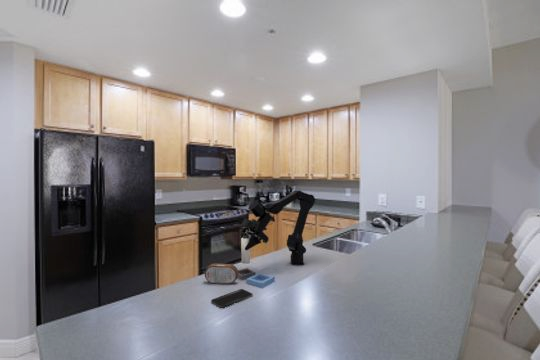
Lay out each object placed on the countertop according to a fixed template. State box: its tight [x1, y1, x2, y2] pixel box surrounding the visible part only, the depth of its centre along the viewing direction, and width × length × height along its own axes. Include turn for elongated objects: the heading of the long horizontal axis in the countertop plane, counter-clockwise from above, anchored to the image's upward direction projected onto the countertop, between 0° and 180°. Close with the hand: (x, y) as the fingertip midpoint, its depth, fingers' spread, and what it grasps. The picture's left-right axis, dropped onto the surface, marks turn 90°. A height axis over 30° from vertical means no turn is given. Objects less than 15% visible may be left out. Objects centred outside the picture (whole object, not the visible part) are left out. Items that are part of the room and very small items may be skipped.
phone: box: [210, 288, 254, 309], centre depth 99 cm, size 8×1×15 cm
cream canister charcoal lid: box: [240, 235, 251, 265], centre depth 123 cm, size 4×4×12 cm
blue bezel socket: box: [245, 272, 276, 289], centre depth 116 cm, size 9×9×2 cm
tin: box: [204, 263, 239, 285], centre depth 116 cm, size 15×3×8 cm, turn 84°
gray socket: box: [237, 268, 257, 281], centre depth 124 cm, size 8×8×2 cm
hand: (243, 248), depth 122 cm, fingers closed on cream canister charcoal lid, 4 cm apart
